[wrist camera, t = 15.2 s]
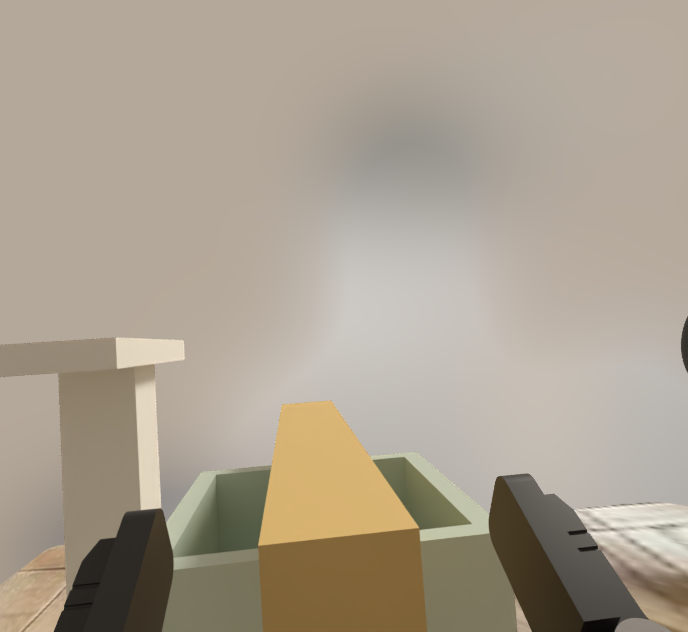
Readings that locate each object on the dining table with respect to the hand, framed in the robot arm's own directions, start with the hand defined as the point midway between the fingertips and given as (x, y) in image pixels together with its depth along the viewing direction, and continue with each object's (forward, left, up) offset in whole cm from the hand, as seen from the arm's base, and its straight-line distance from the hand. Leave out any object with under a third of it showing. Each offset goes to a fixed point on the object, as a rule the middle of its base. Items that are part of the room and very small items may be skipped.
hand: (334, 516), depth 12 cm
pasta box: (-10, -10, -5) cm, 15 cm away
